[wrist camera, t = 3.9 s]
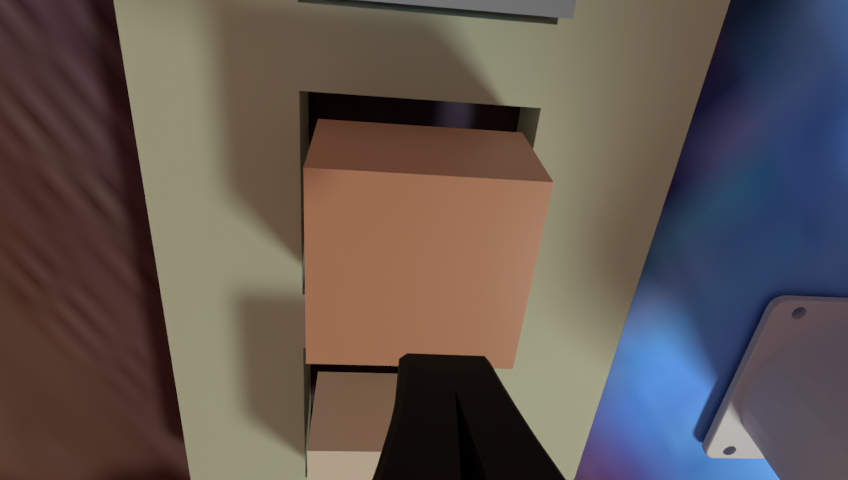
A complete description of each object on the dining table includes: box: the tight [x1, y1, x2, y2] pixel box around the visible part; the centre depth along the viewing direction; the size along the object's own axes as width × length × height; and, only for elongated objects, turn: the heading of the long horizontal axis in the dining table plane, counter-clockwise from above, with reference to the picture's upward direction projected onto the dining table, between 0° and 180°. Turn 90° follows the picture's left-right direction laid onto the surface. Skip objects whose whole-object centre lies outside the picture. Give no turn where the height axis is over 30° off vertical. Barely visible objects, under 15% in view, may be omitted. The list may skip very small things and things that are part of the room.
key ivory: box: [307, 372, 397, 480], centre depth 18 cm, size 5×5×3 cm
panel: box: [113, 0, 730, 480], centre depth 17 cm, size 14×25×2 cm, turn 175°
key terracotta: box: [303, 119, 553, 369], centre depth 14 cm, size 5×5×3 cm
